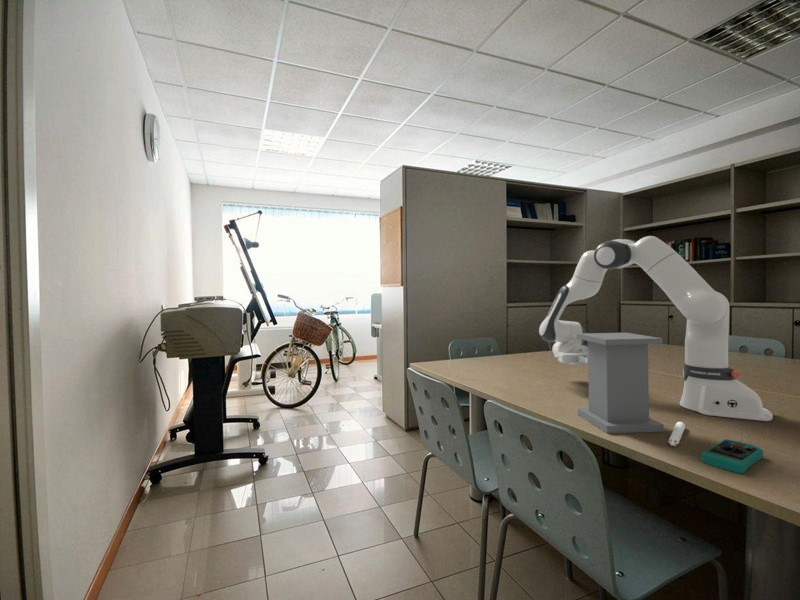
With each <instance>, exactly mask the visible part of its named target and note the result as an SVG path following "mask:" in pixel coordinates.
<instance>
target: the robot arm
mask: <svg viewBox="0 0 800 600" xmlns="http://www.w3.org/2000/svg"><path fill="white" fill-rule="evenodd" d="M635 264H636V265H637V266H639V267H640V268H641V269H642V270H643V271H644V272H645V273H646V275H648V276H649V277H650V279H651V280H652V281H654V283H655V284H657V285H658V286H659V288H660V289H661V290H662V291H663V292H664V293H665V295H666V296H667V298H669V300H670V301H671V302H672V303H673V305H674V306H675V307H676V308H677V309H678V311H679V312H680V313H681V314H682V315H683V316H684V317H685V318H686V329H685V336H684V337H685V339H684V363H683V367H682V377H683V381H684V383H683V384H684V385H683V391H682V395H681V398H680V401H679V406H681V407H683V408H685V409H688V410H690V411H693V412H694V411H695V412H698V413H699V414H702V415H706V416H714V417H721V418H722V417H723V418H733V419H742V420H750V421H761V422H762V421H763V422H769V421H772V420H773V419H774V417H773V416H774V415H773V413H772V412H771V410H768V409H766V408H764V407H763V402H762V399H761V397H760V396H759V394H758V393H757V392H755V390H753V389H751V387H749V386H747V385H746V384H744V383H743V382H741V381H739V380H738V378H739V377H740V376H741V373H740V372H739V371H738V370H737V369H734V368H732V367H730V366H729V334H730V333H729V331H730V303H729V300H728V298H727V297H726V296H725V295H724V294H722V293H721V292H718V291H716V290H715V289H714V288H712V286H711V285H709V283H708V282H707V281H706V280H705V279H704V278H703V277H702V276H701V275H700V274H699V273H698V271H696V270H695V269H694V268H693V267H692V266H691V264H689V263H688V262H687V261H686V260H685V259H684V258H683V257H682V255H680V254H679V253H678V252H677V251H676V250H674V249H673V248H672V247H671V246H670V245H669V244H668V243H666V242H664V241H663V240H662V239H660V238H659V237H657V236H653V235H648V236H644V237H642V238H639V240H634V239H630V238H625V239H621V238H617V239H611V240H607V241H604V242H602V243H600V244H598V246H597V247H596V248H595V249H593V250H592V249H591V250H587V251H585V252H584V253H583V254H582V255H581V257H580V259H579V261H578V262H577V265H576V267H575V271H574V273H573V275H572V277H571V279H570V280H569V281H568V282H567V284H565V285H564V286H562V287H560V289H559V291H558V292H557V294H556V295H555V298H554V300H553V302H552V304H551V306H550V308H549V310H548V312H547V314H546V316H545V317H544V319H543V320H542V322H541V323H540V324H539V329H538V334H539V336H540V337H541V339H542V340H543V341H544V342H547V343H554V344H553V345H552V348H551V349H552V353H553V357H554V358H555V359H557V361H558V362H559V363H561V364H570V365H573V366H575V367H581V366H585V365H588V358H585V357H586V354H587V352H588V345H584V344H585V340H582V339H577V334H585V333H586V330H585V328H584V327H583V325H582V324H581V323H580V322H579V321H570V320H561V319H560V318H561V316H562V314H563V312H564V310H565V308H566V307H567V306H568V305H570V304H572V303H573V302H576V301H581V300H586V299H588V298H591V297H593V296H595V295H596V294H597V293H598V292H599V291H600V289H601V287H602V284H603V281H604V277H605V275H606V273H607V271H608V270H614V269H615V270H616V269H623V268H627V267H630V266H634V265H635Z"/></svg>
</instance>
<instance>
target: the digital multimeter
mask: <svg viewBox="0 0 800 600" xmlns="http://www.w3.org/2000/svg"><path fill="white" fill-rule="evenodd" d="M762 459H764V450H763V449H761V448H760V447H758V446H757V445H756V446H755V445H754V444H753V445H752V444H750V443H747V442H742V441H739V440H738V441H737V440H732V439H723V440H722V441H720V442H718V443H717V444H715V445H714V446H712V447H710V448H709V449H706V450H705V451H702V452H701V453H700V461H701V462H702V463H703V464H707V465H710V466H713V467H717V468H718V469H723V470H726V471H730V472H733V473H737V474H741V475H742V474H744V473H745V472H746V471H747V470H748V469H749V468H750V467H751V466H752V465H754V464H755V463H757V462H759V461H761V460H762Z"/></svg>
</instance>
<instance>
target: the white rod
mask: <svg viewBox="0 0 800 600" xmlns="http://www.w3.org/2000/svg"><path fill="white" fill-rule="evenodd" d="M685 428H686V424H685V423H684V422H682V421H677V422H676V423H675V425H674V428H673V430H672V432H671V434H670V437H669V438H668V443H669V445H670V446H673V447H677V446H678V445H679V443H680V442H681V441H680V440H681V439H682V436H683V433H684V430H685Z"/></svg>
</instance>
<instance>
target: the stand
mask: <svg viewBox="0 0 800 600" xmlns="http://www.w3.org/2000/svg"><path fill="white" fill-rule="evenodd" d="M577 339H582V340H584V341H586V342H587V346H588V364H587V365H588V366H587V370H588V372H587V373H588V375H587V377H588V379H587V380H588V407H581V408H577V415H578V416H579V415H580V416H579V417H580V418H582V417H583V418H582V419H584V418H585V419H586V421H587V420H588V421H587V422H589V423H590V422H591V423H590V424H592V425H593V424H594V425H593V426H595V427H596V426H597V428H598V429H600V430H601V429H602V430H601V431H603V432H604V431H605V433H606V434H623V433H625V434H626V433H632V434H633V433H656V432H657V433H658V432H659V433H660V432H665V431H664V430H665V429H664V428H665V427H664V423H661V422H659V421H657V420H655V419H653V418H651V417H650V408H649V407H650V402H649V400H650V397H649V396H650V393H649V392H650V391H649V390H650V389H649V387H650V386H649V385H650V383H649V345H658V344H659V345H660V344H661V345H663V342H664V341H663V338H662V337H656V336H650V335H643V334H638V333H637V334H636V333H631V332H595V333H593V332H592V333H590V332H589V333H586V332H585V334H577ZM585 419H584V420H585Z"/></svg>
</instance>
